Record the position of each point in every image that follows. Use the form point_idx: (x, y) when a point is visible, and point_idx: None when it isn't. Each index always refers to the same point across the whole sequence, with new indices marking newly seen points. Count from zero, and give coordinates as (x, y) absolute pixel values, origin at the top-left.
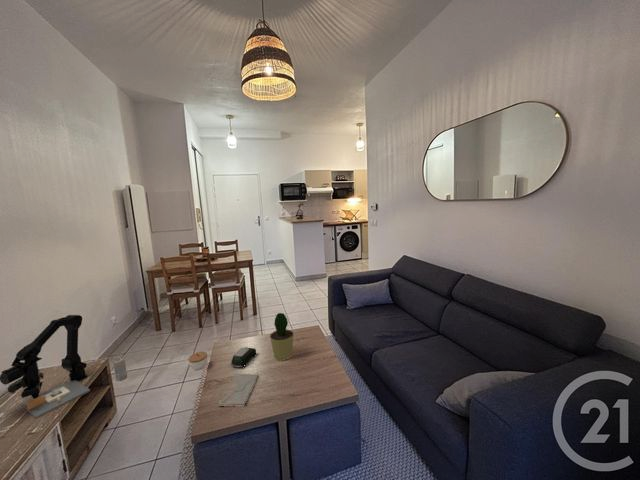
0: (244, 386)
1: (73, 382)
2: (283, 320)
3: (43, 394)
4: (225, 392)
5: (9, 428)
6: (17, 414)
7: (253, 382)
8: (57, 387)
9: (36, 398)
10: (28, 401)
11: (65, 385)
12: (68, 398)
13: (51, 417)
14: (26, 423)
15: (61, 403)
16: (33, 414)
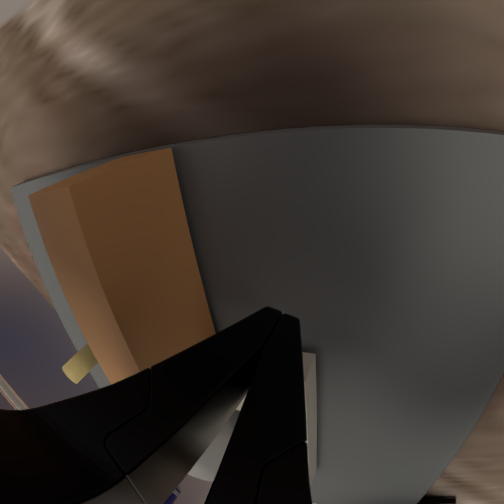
0: (12, 402)
1: (349, 501)
2: None
3: (444, 392)
4: (6, 392)
5: (31, 22)
6: (222, 23)
7: (18, 409)
8: (420, 468)
9: (100, 330)
10: (77, 227)
11: (371, 486)
12: (109, 383)
13: (10, 244)
14: (14, 127)
15: (74, 339)
16: (36, 182)
